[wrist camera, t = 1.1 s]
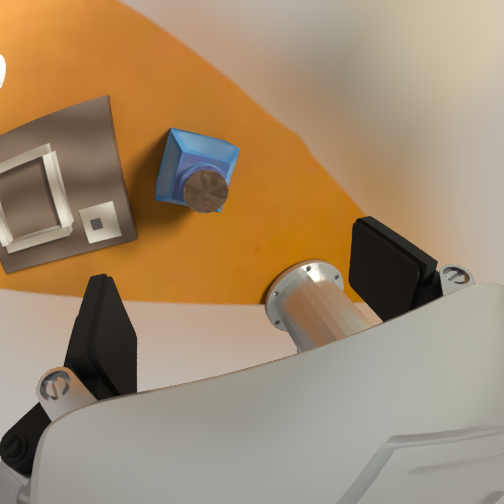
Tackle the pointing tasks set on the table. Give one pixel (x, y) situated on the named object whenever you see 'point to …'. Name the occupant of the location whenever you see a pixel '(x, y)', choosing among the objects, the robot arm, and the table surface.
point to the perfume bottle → (195, 171)
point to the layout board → (62, 187)
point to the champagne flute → (2, 70)
